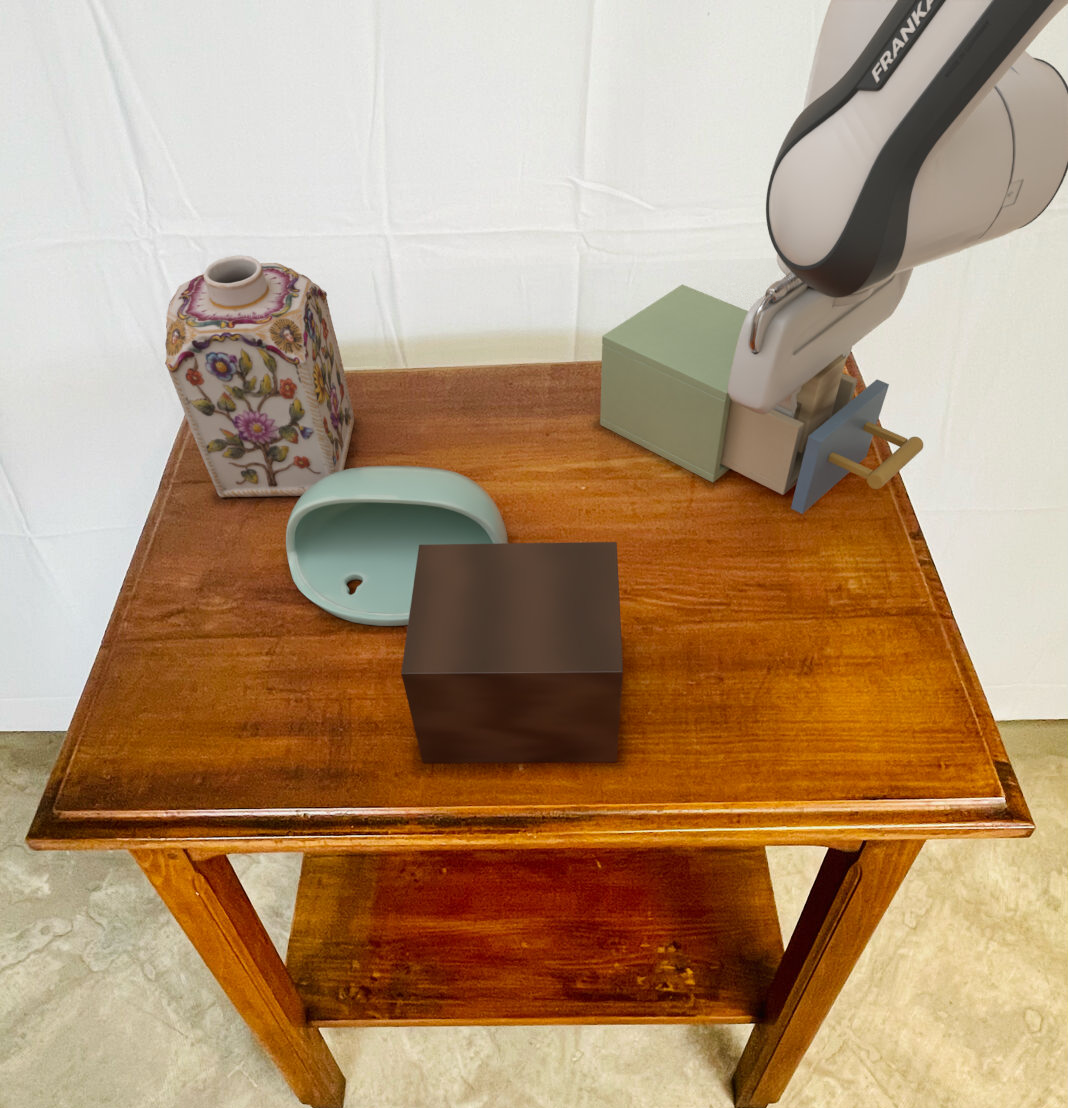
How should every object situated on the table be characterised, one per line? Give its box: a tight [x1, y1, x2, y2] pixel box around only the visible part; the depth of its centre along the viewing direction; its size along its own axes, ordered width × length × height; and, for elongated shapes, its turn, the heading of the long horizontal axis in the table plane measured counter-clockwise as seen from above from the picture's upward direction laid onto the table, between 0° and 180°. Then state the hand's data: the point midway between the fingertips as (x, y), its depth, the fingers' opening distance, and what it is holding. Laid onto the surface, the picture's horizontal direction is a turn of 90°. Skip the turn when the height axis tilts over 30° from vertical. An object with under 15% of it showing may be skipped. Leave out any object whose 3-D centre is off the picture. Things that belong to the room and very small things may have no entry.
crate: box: [400, 541, 624, 764], centre depth 64 cm, size 14×12×10 cm
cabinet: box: [599, 284, 749, 484], centre depth 83 cm, size 14×12×9 cm
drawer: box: [720, 373, 924, 515], centre depth 78 cm, size 18×10×7 cm, turn 47°
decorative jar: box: [164, 254, 355, 499], centre depth 79 cm, size 12×12×18 cm
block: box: [796, 356, 847, 453], centre depth 76 cm, size 4×4×7 cm
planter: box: [285, 465, 509, 627], centre depth 75 cm, size 19×7×16 cm
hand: (802, 407), depth 77 cm, fingers closed on block, 4 cm apart
